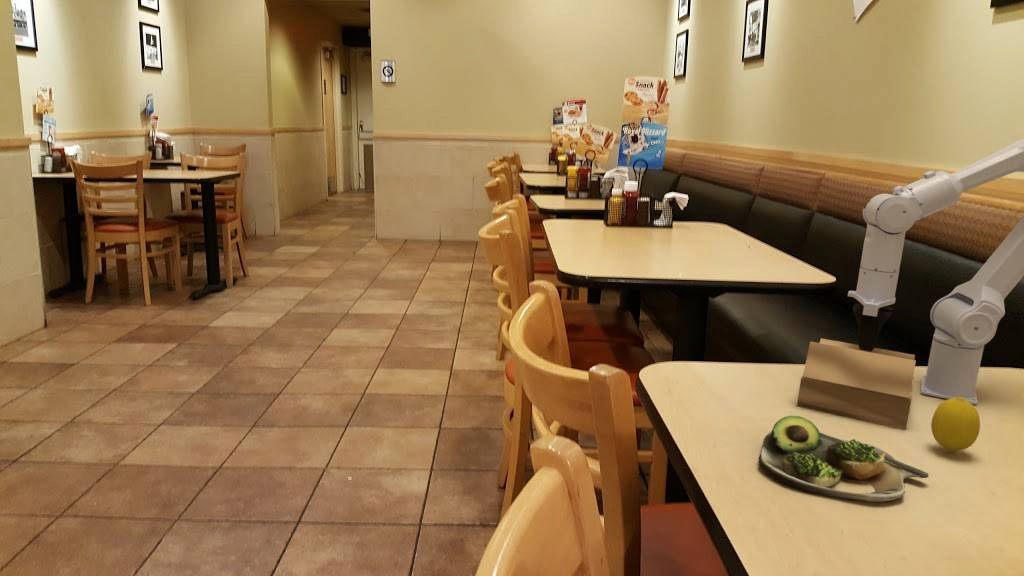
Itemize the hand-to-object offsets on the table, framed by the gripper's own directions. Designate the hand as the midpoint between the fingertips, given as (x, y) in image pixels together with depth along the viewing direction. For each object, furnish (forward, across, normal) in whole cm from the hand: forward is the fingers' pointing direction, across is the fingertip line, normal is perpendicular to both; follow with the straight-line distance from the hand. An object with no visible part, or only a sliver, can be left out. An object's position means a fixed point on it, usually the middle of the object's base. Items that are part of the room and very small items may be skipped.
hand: (866, 348), depth 123 cm
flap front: (-1, +15, 0) cm, 15 cm away
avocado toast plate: (+7, +36, -1) cm, 37 cm away
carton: (+6, +10, 0) cm, 12 cm away
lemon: (+7, +22, +13) cm, 26 cm away
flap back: (+1, +1, 0) cm, 2 cm away
